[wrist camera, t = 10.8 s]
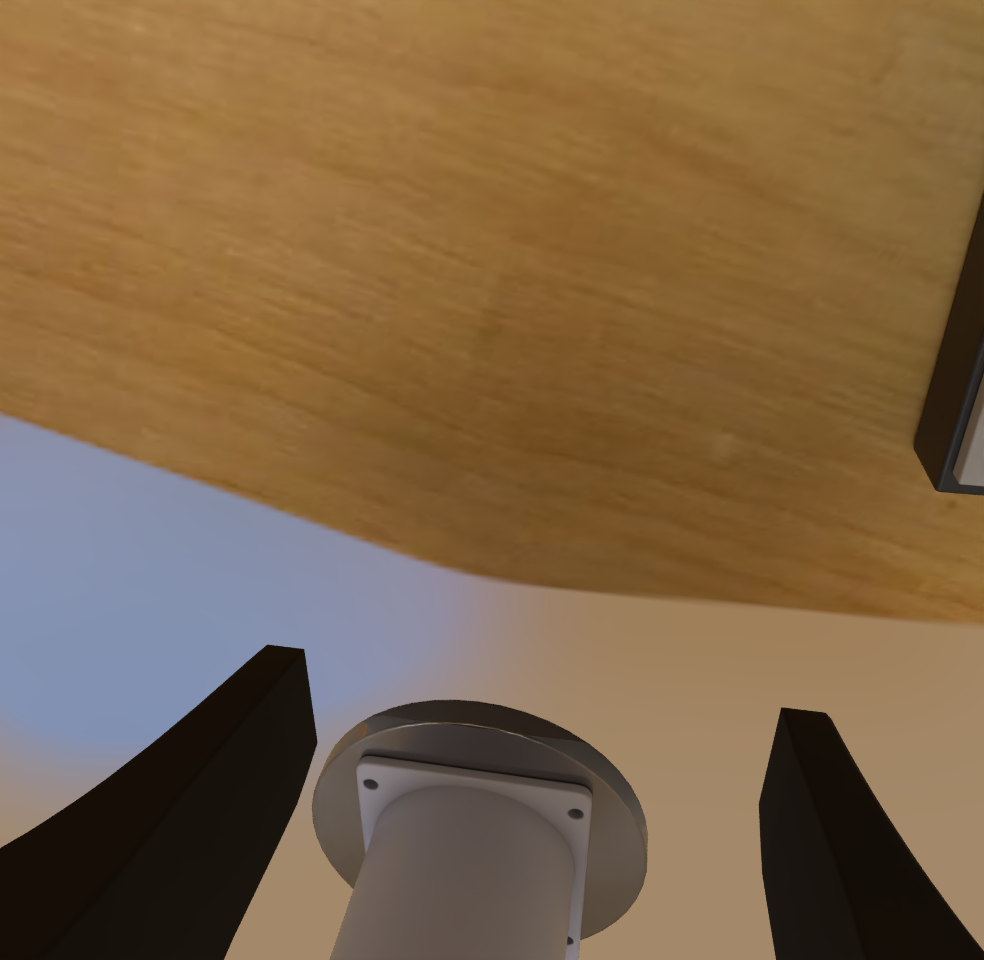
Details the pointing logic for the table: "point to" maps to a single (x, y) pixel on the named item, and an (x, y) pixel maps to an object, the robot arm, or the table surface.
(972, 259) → the scale
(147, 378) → the table surface
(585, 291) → the table surface
